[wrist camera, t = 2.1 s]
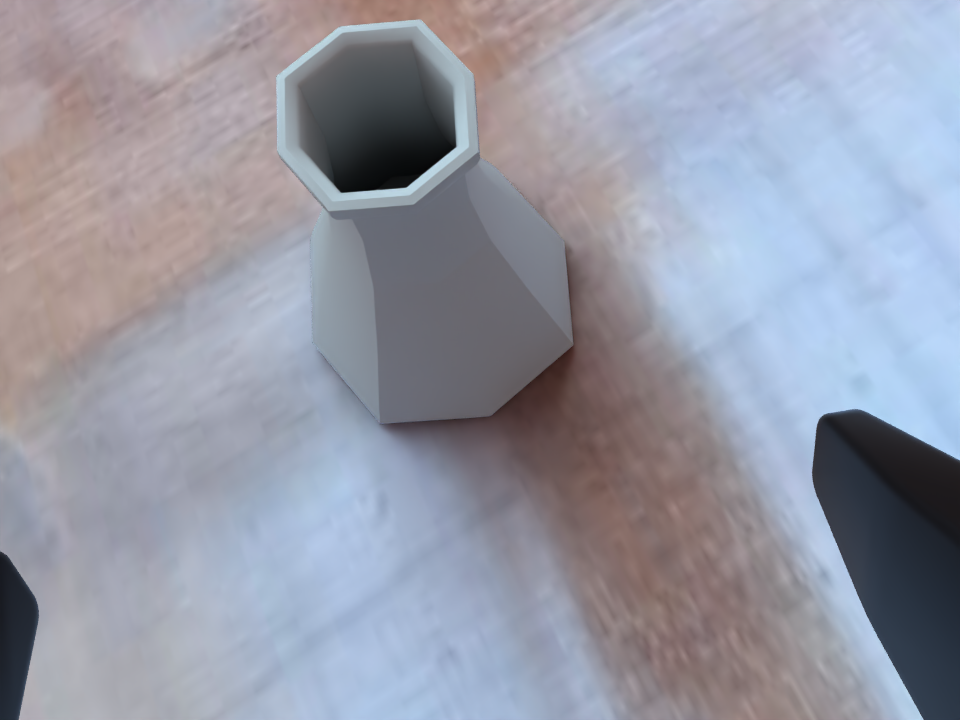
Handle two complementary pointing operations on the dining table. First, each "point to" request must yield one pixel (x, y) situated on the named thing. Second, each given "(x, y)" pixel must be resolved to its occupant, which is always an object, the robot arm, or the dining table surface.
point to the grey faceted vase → (416, 230)
